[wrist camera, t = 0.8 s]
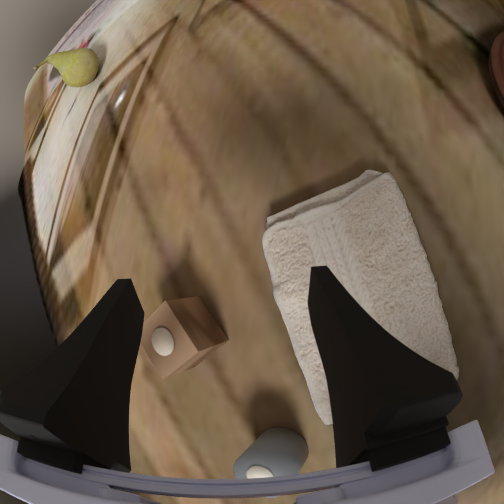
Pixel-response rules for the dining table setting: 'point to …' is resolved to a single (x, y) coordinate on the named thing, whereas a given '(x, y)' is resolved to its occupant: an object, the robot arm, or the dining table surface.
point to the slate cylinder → (272, 455)
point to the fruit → (75, 66)
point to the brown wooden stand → (497, 66)
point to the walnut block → (180, 335)
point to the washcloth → (357, 271)
